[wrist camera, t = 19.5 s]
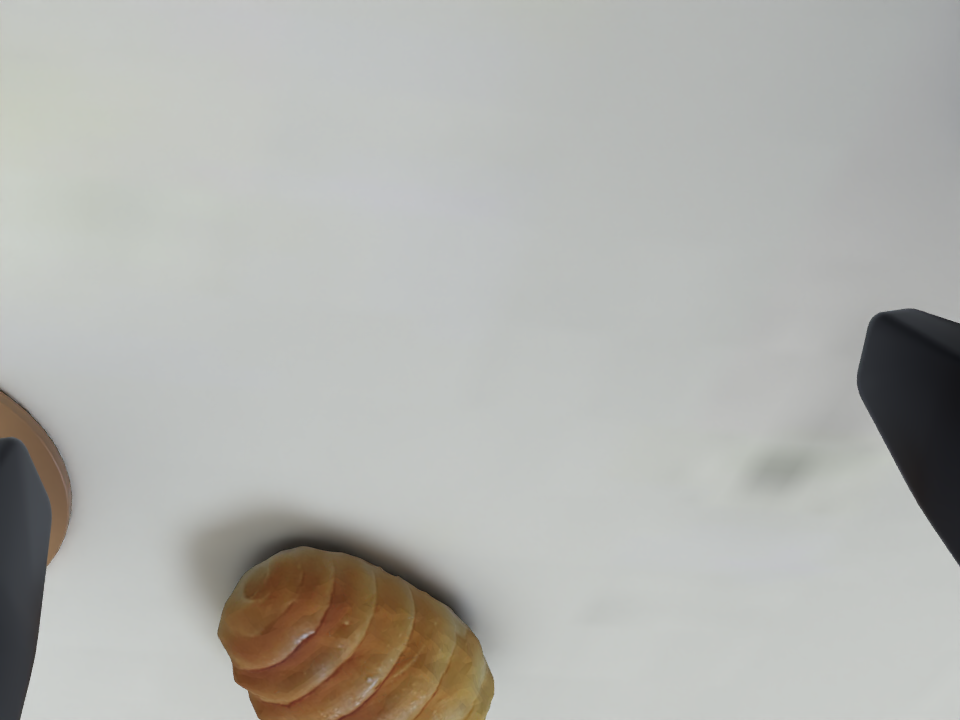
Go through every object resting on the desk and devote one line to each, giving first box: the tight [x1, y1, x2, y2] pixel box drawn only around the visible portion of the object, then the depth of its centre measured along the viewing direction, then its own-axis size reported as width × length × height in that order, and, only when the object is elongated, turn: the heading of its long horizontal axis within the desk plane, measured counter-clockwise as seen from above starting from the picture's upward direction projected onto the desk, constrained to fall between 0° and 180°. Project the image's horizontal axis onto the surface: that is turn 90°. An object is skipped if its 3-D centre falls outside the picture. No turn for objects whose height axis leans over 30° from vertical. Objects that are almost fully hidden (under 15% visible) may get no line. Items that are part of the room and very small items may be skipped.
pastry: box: [218, 546, 494, 720], centre depth 27 cm, size 9×7×4 cm
